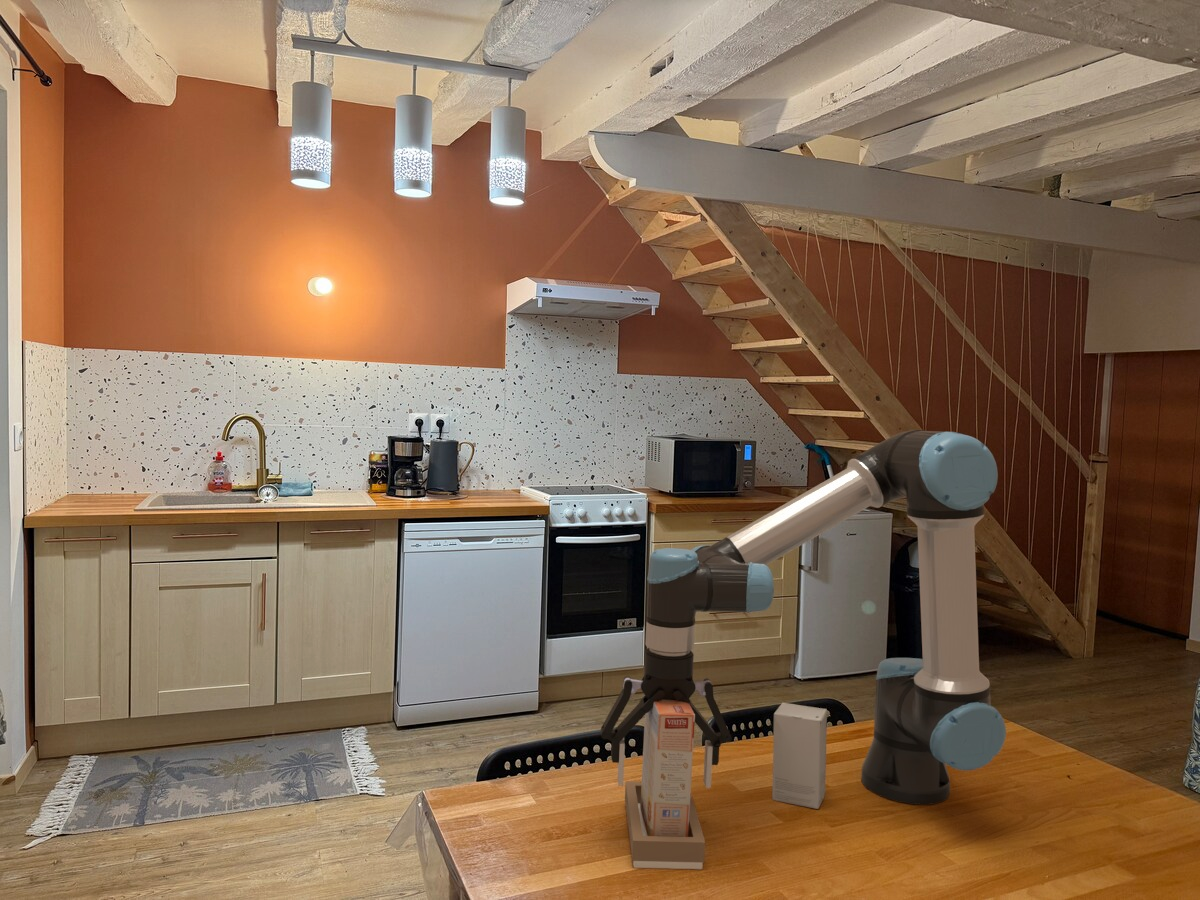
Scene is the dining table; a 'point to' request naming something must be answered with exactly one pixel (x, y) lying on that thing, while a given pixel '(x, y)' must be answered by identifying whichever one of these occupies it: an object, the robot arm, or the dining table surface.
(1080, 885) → the dining table surface
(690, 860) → the tray
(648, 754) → the cracker box
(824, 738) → the skincare box
